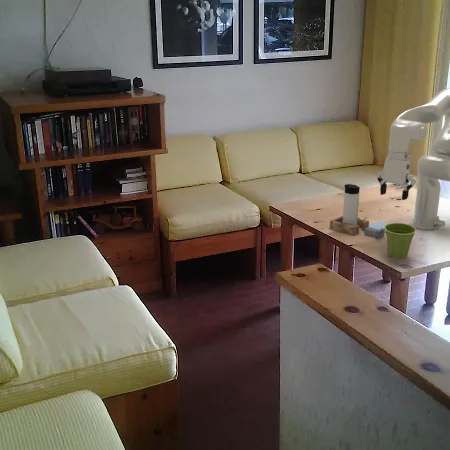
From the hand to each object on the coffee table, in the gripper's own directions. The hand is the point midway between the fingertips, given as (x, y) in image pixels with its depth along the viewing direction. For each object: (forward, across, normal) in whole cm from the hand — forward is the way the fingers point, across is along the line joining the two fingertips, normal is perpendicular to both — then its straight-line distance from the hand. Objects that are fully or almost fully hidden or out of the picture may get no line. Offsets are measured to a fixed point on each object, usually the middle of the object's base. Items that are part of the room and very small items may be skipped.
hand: (393, 196), depth 225 cm
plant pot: (+19, -11, +12) cm, 25 cm away
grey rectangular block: (+19, +8, 0) cm, 20 cm away
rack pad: (+19, +10, -11) cm, 24 cm away
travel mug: (+19, +20, +1) cm, 27 cm away
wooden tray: (+19, +20, +1) cm, 27 cm away
